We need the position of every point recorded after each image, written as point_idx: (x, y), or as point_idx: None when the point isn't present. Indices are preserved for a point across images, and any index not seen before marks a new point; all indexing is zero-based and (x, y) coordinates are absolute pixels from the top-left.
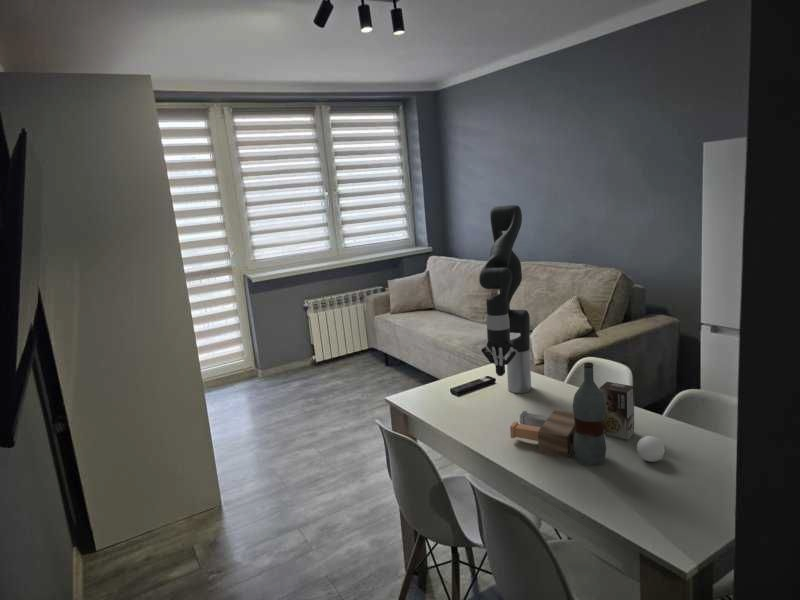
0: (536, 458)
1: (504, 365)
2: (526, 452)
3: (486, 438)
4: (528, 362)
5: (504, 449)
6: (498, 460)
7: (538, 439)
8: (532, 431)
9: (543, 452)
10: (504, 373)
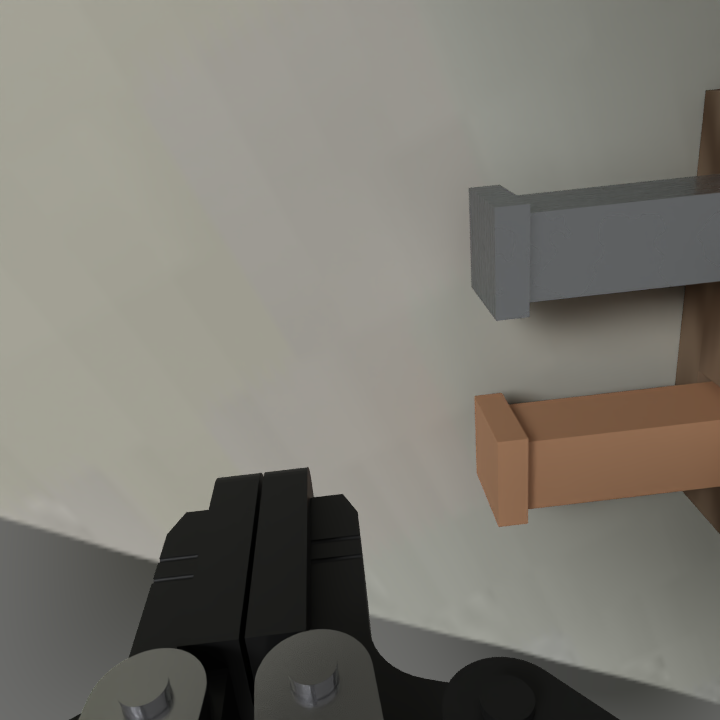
0: (670, 532)
1: (376, 668)
2: (598, 504)
3: None
4: None
5: (464, 533)
6: (483, 635)
7: (714, 524)
8: (666, 488)
9: None
10: (344, 505)
